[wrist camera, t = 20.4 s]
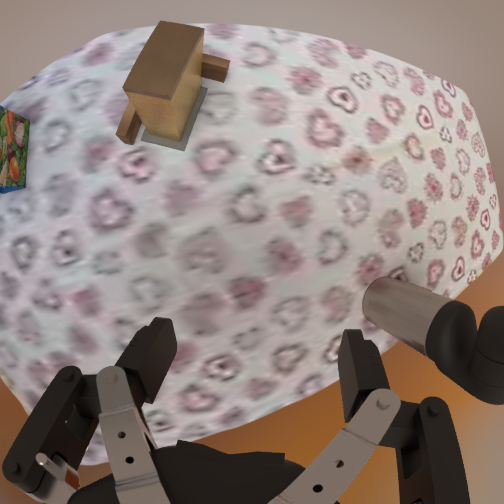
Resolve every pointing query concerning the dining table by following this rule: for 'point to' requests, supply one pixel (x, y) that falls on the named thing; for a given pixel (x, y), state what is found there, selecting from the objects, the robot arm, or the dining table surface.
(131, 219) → the dining table surface
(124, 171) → the dining table surface
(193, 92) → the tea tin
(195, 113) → the mat
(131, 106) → the corner arena
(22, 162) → the blue food package
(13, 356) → the dining table surface
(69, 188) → the dining table surface
